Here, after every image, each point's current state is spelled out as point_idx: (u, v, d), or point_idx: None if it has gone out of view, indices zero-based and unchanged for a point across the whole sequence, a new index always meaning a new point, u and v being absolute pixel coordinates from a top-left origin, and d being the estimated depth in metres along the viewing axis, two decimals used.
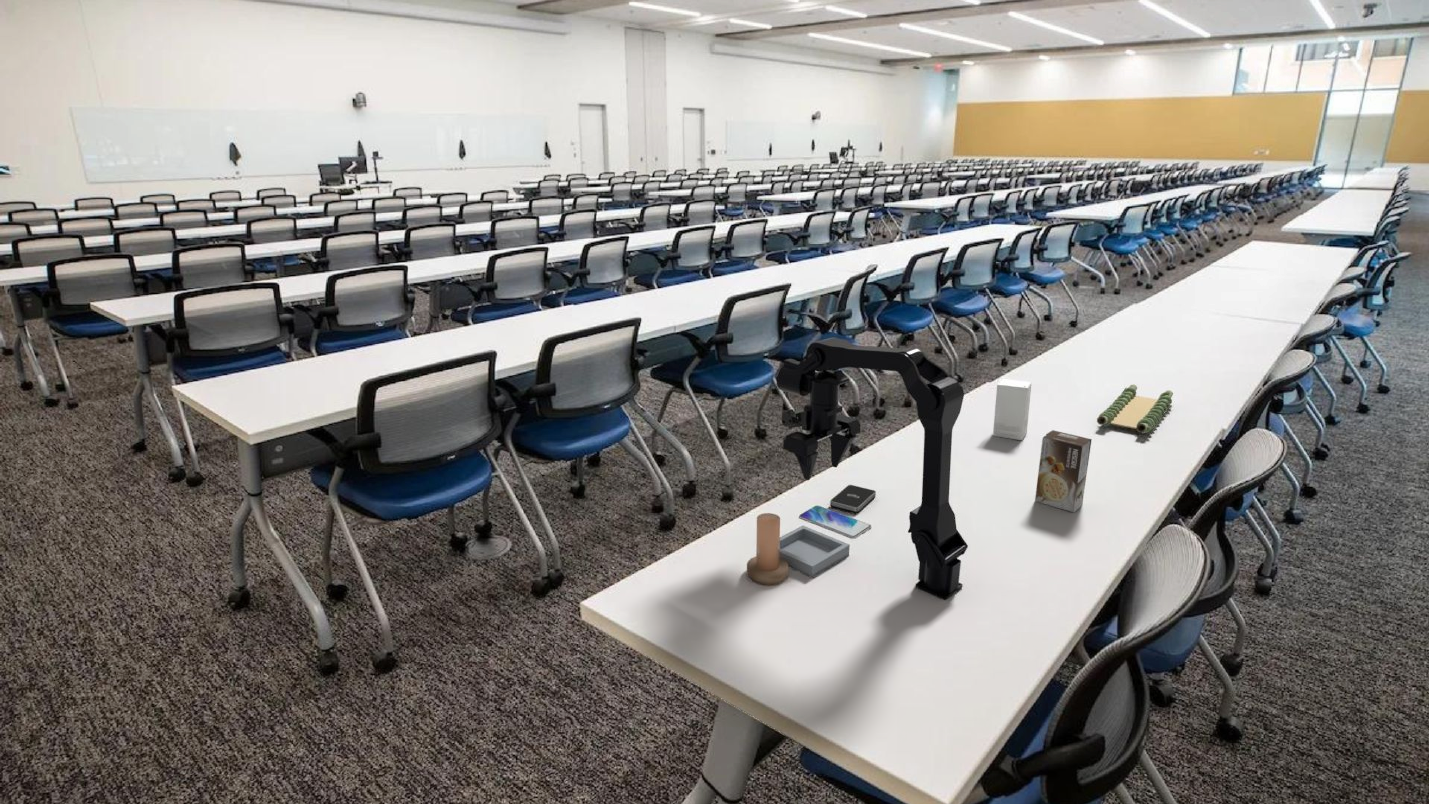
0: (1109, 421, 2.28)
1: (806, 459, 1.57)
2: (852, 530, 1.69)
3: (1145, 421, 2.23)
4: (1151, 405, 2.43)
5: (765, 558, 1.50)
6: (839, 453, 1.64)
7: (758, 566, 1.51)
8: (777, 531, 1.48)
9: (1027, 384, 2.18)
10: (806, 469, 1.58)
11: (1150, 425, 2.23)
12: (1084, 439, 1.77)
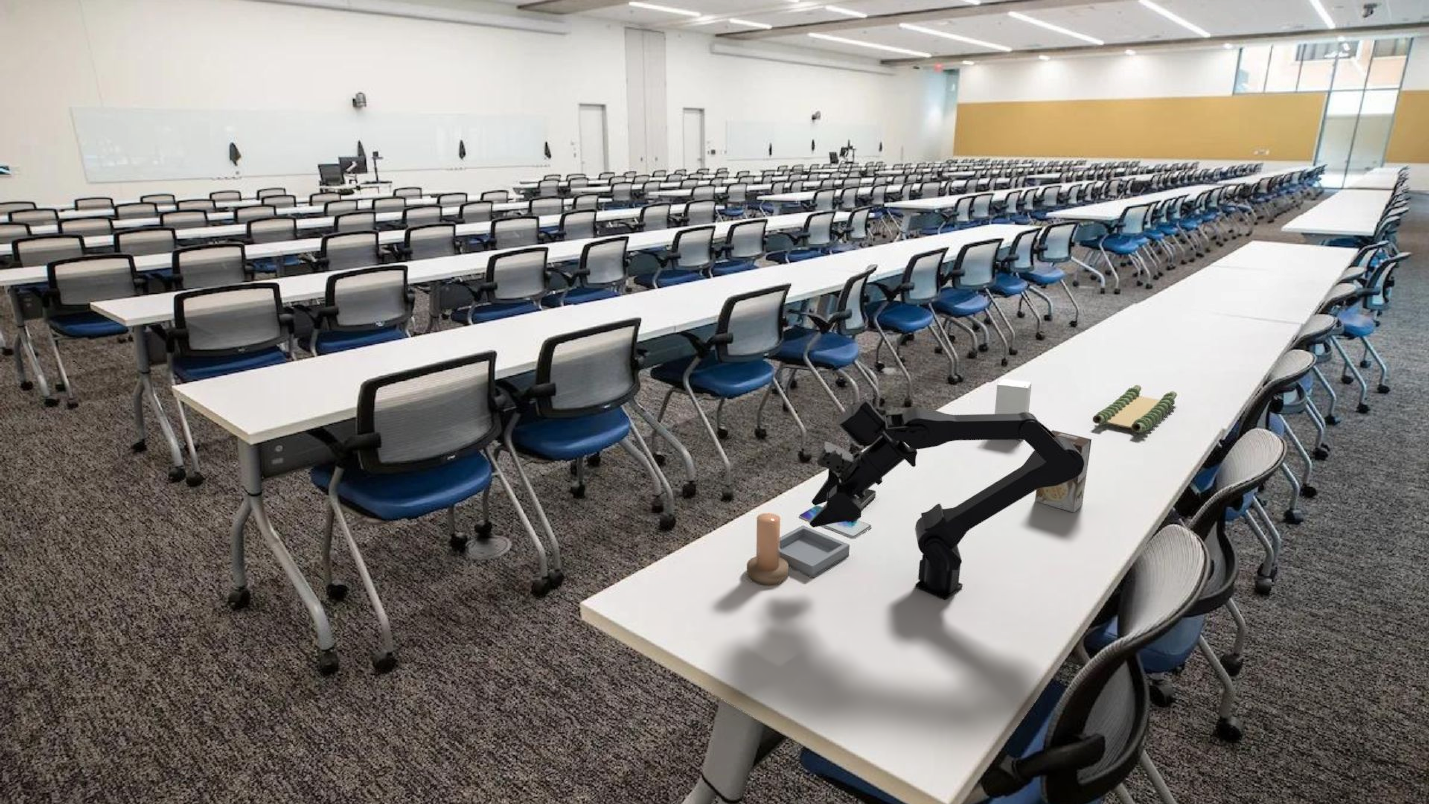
0: (1105, 420, 2.29)
1: (833, 514, 1.41)
2: (852, 530, 1.69)
3: (1141, 421, 2.23)
4: (1153, 405, 2.42)
5: (765, 558, 1.50)
6: None
7: (758, 566, 1.51)
8: (777, 531, 1.48)
9: (1027, 384, 2.18)
10: (823, 521, 1.42)
11: (1146, 425, 2.23)
12: (1084, 439, 1.77)
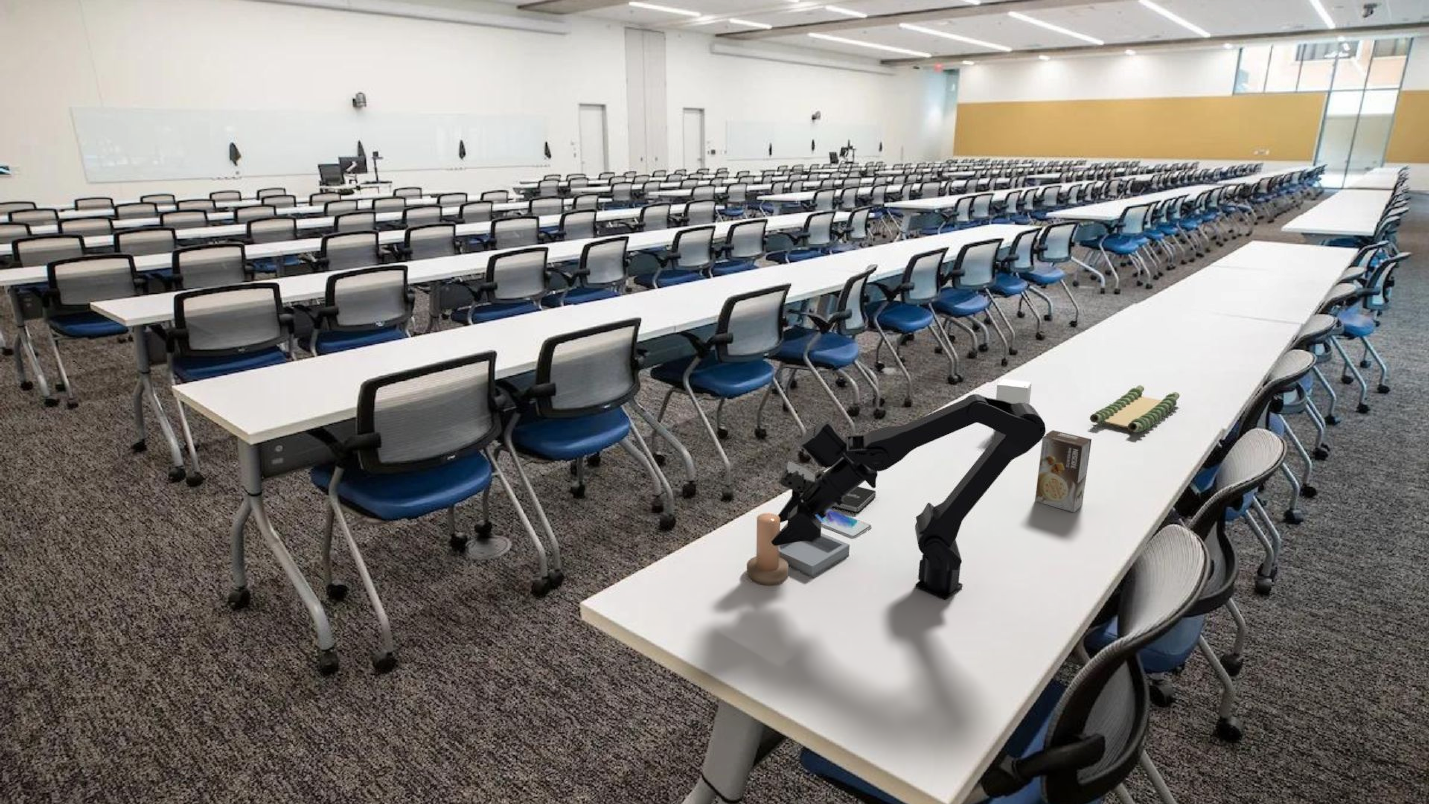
0: (1103, 419, 2.29)
1: (794, 533, 1.43)
2: (852, 530, 1.69)
3: (1138, 420, 2.24)
4: (1154, 406, 2.42)
5: (765, 558, 1.50)
6: None
7: (758, 566, 1.51)
8: (777, 531, 1.48)
9: (1027, 384, 2.18)
10: (785, 540, 1.44)
11: (1143, 424, 2.23)
12: (1084, 439, 1.77)
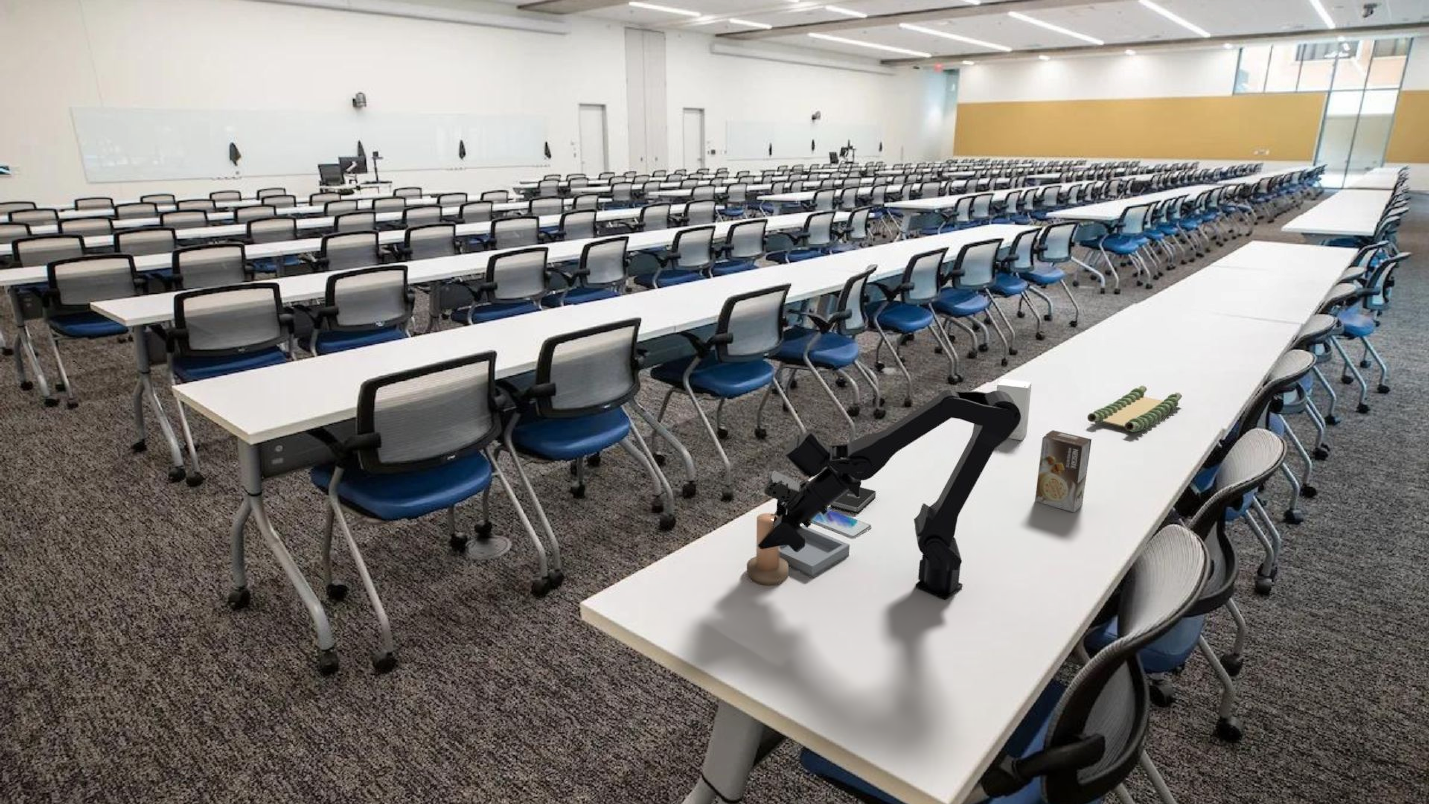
0: (1101, 419, 2.30)
1: (780, 537, 1.46)
2: (852, 530, 1.69)
3: (1136, 420, 2.24)
4: (1155, 406, 2.42)
5: (765, 558, 1.50)
6: None
7: (758, 566, 1.51)
8: None
9: (1027, 384, 2.18)
10: (771, 543, 1.47)
11: (1141, 424, 2.24)
12: (1084, 439, 1.77)
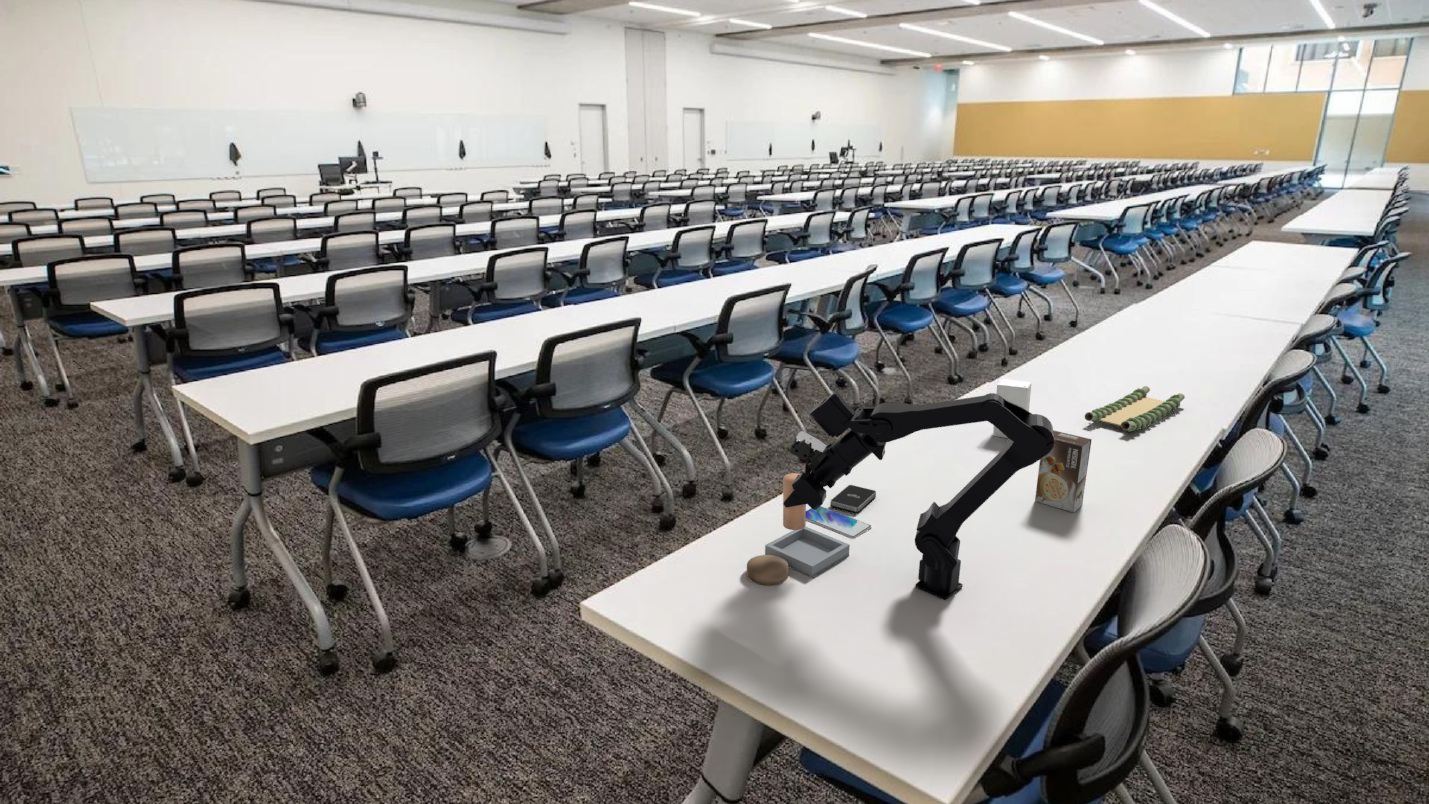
0: (1098, 418, 2.30)
1: None
2: (852, 530, 1.69)
3: (1133, 419, 2.24)
4: (1156, 406, 2.41)
5: (789, 517, 1.52)
6: None
7: (784, 525, 1.54)
8: None
9: (1027, 384, 2.18)
10: (795, 502, 1.50)
11: (1138, 424, 2.24)
12: (1084, 439, 1.77)
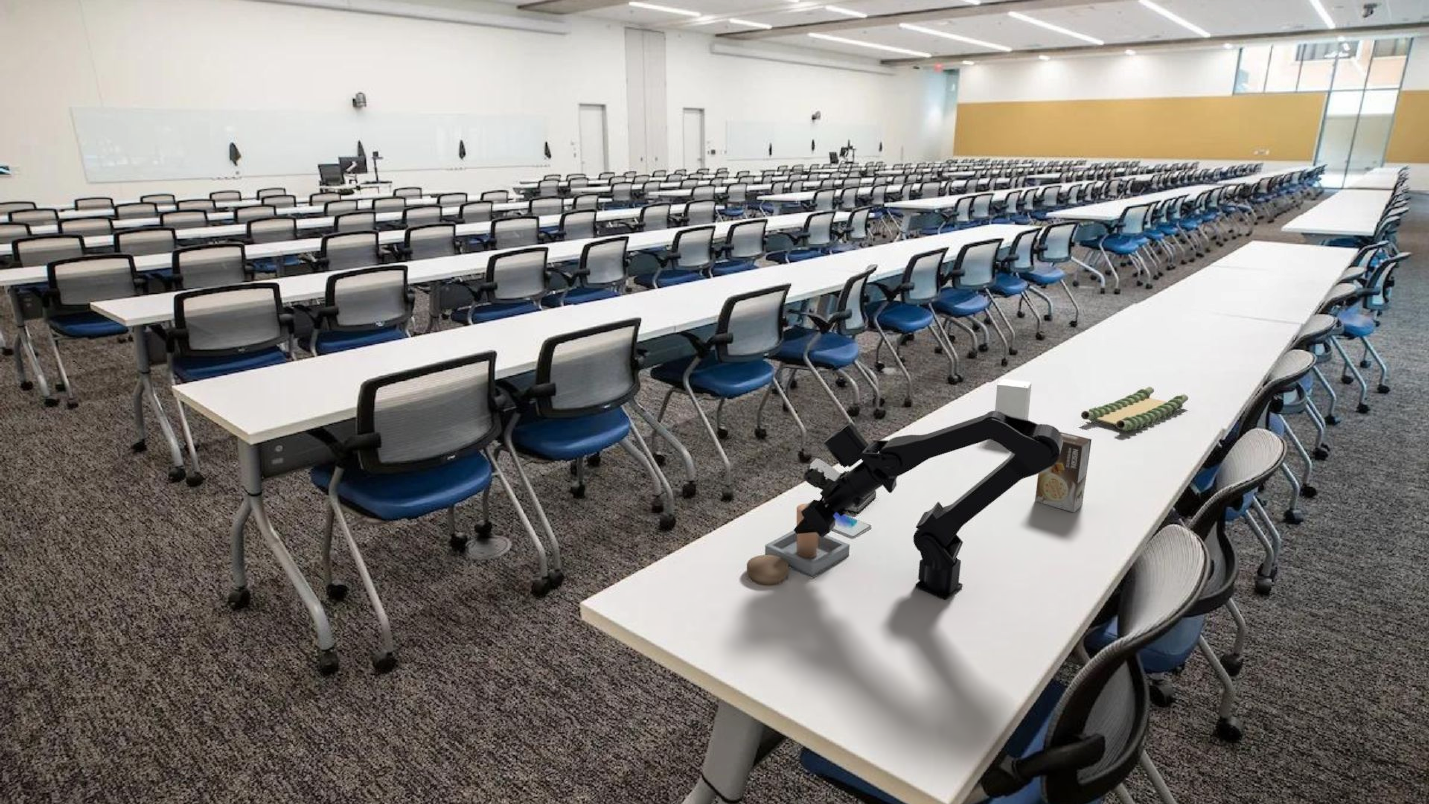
0: (1095, 417, 2.31)
1: None
2: (852, 530, 1.69)
3: (1129, 419, 2.25)
4: (1157, 407, 2.41)
5: (802, 546, 1.57)
6: None
7: (797, 552, 1.59)
8: None
9: (1027, 384, 2.18)
10: (804, 529, 1.53)
11: (1134, 423, 2.24)
12: (1084, 439, 1.77)
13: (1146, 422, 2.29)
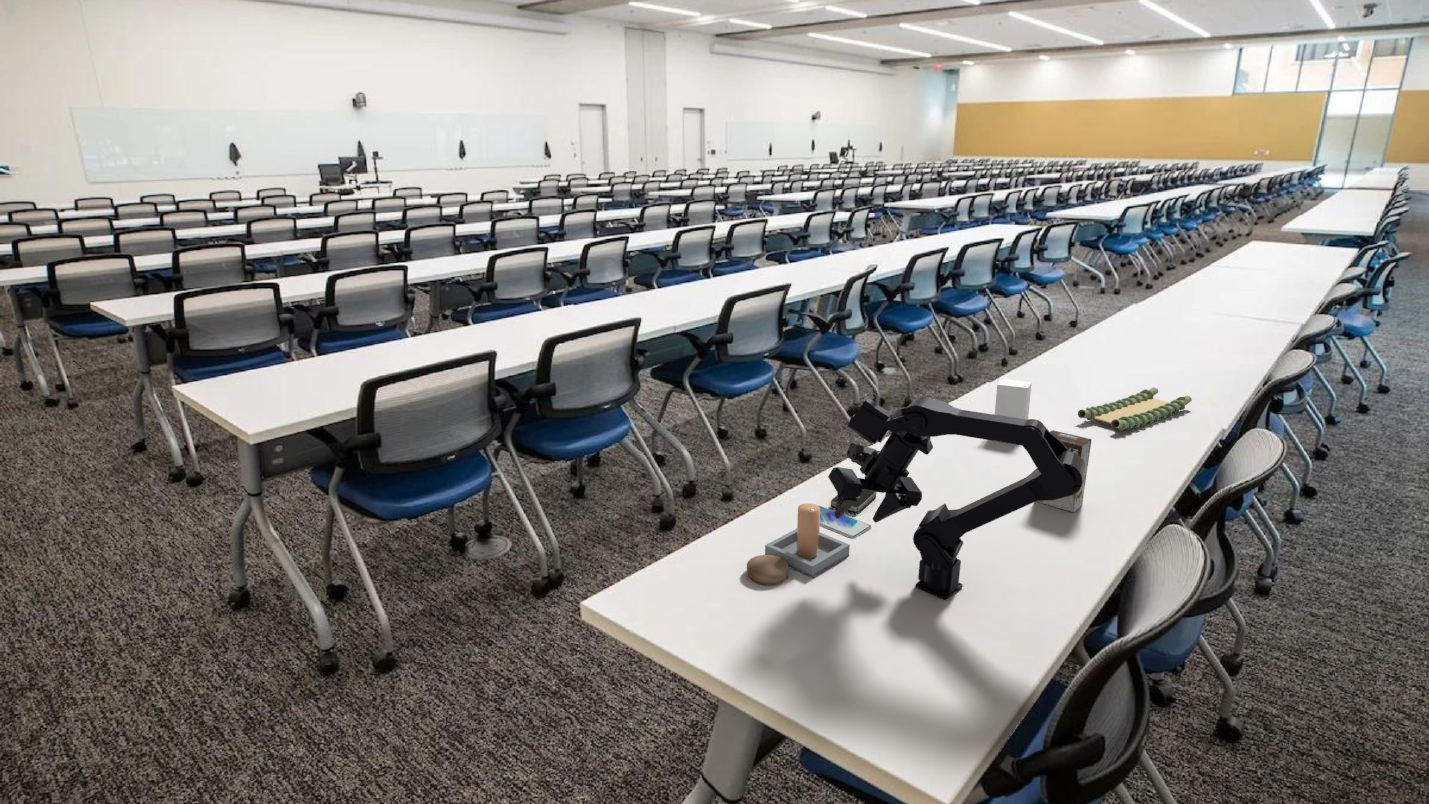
0: (1092, 416, 2.32)
1: (844, 499, 1.47)
2: (852, 530, 1.69)
3: (1125, 418, 2.25)
4: (1158, 407, 2.40)
5: (802, 546, 1.57)
6: (885, 512, 1.52)
7: (797, 552, 1.59)
8: (815, 521, 1.55)
9: (1027, 384, 2.18)
10: (839, 508, 1.48)
11: (1130, 423, 2.25)
12: (1084, 439, 1.77)
13: (1144, 422, 2.29)
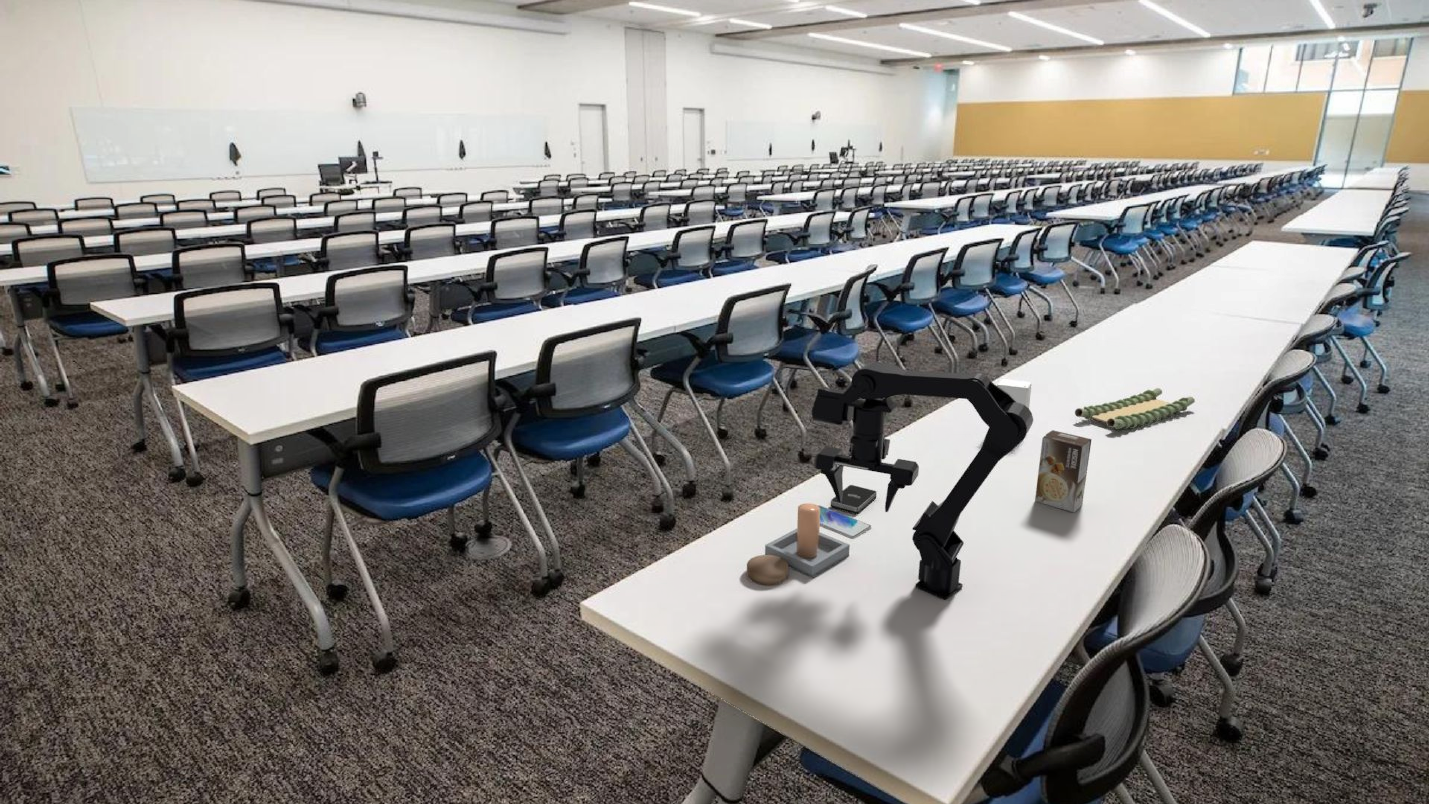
0: (1089, 415, 2.33)
1: None
2: (852, 530, 1.69)
3: (1121, 418, 2.26)
4: None
5: (802, 546, 1.57)
6: None
7: (797, 552, 1.59)
8: (815, 521, 1.55)
9: (1027, 384, 2.18)
10: None
11: (1126, 422, 2.25)
12: (1084, 439, 1.77)
13: (1141, 422, 2.29)
